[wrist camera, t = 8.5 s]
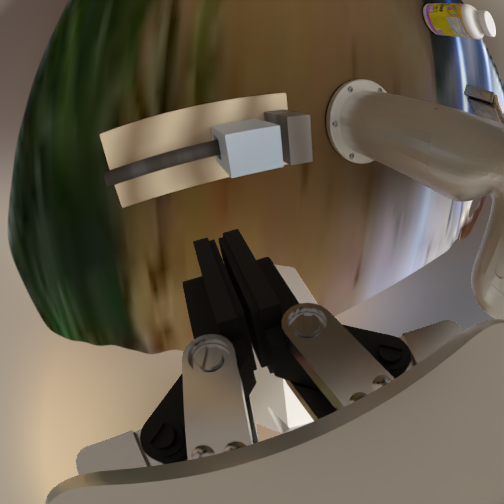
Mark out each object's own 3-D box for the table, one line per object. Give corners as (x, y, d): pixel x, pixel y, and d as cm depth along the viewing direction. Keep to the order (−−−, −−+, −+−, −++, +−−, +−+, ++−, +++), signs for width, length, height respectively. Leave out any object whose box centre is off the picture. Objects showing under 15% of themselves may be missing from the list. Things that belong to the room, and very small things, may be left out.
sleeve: (255, 118, 27) (279, 125, 22) (259, 151, 29) (283, 166, 24) (210, 126, 26) (224, 135, 21) (216, 161, 28) (231, 178, 23)
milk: (294, 267, 44) (392, 402, 23) (266, 319, 48) (334, 446, 28) (225, 256, 38) (311, 434, 18) (202, 315, 43) (255, 471, 22)
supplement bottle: (431, 0, 22) (488, 3, 12) (445, 30, 26) (500, 37, 16) (416, 7, 23) (478, 8, 13) (431, 39, 27) (492, 46, 17)
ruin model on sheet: (461, 94, 35) (499, 106, 28) (464, 84, 34) (501, 95, 27) (477, 121, 41) (509, 135, 33) (480, 112, 40) (512, 124, 32)
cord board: (282, 92, 28) (312, 95, 22) (288, 161, 33) (317, 178, 28) (101, 133, 24) (86, 144, 18) (123, 204, 29) (116, 232, 24)
